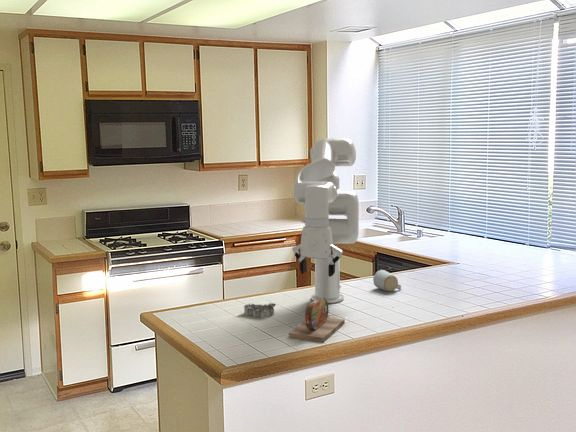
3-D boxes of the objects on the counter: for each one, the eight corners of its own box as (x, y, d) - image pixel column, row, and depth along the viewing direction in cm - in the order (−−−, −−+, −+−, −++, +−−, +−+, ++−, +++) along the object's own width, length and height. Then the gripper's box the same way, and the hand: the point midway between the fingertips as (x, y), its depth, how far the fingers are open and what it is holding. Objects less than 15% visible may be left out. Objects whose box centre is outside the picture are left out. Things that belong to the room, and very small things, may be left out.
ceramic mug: (384, 293, 254) (384, 274, 253) (372, 288, 261) (373, 270, 260) (405, 290, 259) (406, 272, 258) (393, 286, 266) (394, 268, 265)
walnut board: (312, 319, 222) (312, 315, 222) (344, 323, 217) (344, 319, 217) (288, 337, 204) (288, 332, 204) (323, 342, 199) (323, 337, 199)
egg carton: (277, 314, 229) (277, 303, 229) (265, 320, 223) (264, 308, 223) (253, 309, 235) (253, 299, 235) (241, 315, 229) (240, 304, 228)
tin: (312, 333, 203) (312, 307, 202) (303, 331, 205) (303, 306, 203) (329, 319, 217) (329, 295, 216) (320, 318, 218) (320, 294, 217)
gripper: (287, 223, 205) (288, 274, 208) (338, 226, 198) (338, 279, 201) (297, 219, 212) (297, 269, 215) (346, 222, 205) (346, 273, 208)
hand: (317, 274), depth 208 cm, fingers open, 9 cm apart
